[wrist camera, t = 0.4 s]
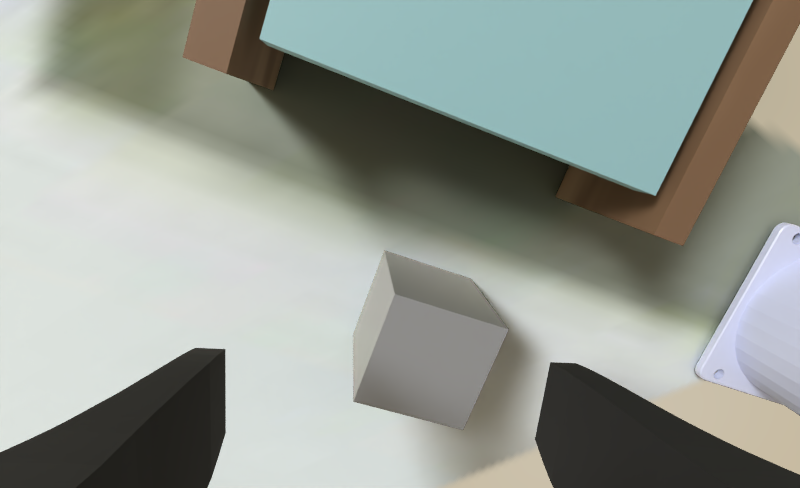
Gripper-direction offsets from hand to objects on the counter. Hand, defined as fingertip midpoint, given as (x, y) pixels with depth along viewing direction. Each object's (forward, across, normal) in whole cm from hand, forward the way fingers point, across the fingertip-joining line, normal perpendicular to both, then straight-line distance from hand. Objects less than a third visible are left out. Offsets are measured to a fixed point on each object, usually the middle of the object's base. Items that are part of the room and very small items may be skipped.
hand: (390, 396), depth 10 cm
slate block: (+10, -2, +2) cm, 10 cm away
